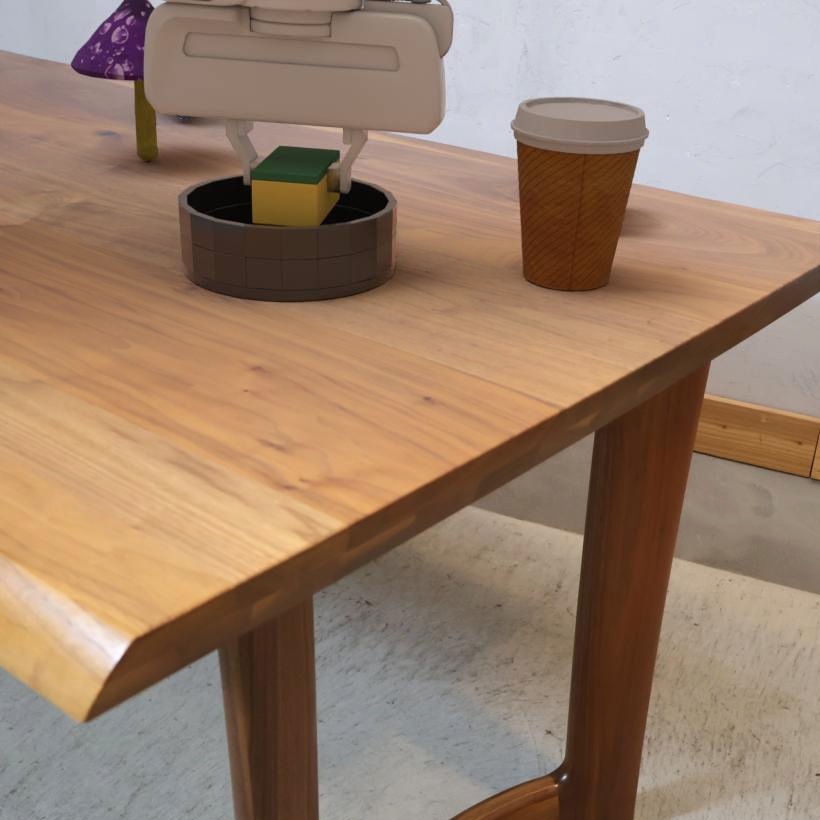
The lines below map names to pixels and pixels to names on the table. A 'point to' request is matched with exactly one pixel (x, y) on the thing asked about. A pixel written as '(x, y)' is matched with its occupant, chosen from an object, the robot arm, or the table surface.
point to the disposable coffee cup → (574, 186)
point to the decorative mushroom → (123, 64)
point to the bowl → (286, 244)
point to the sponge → (293, 187)
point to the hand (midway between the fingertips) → (297, 187)
